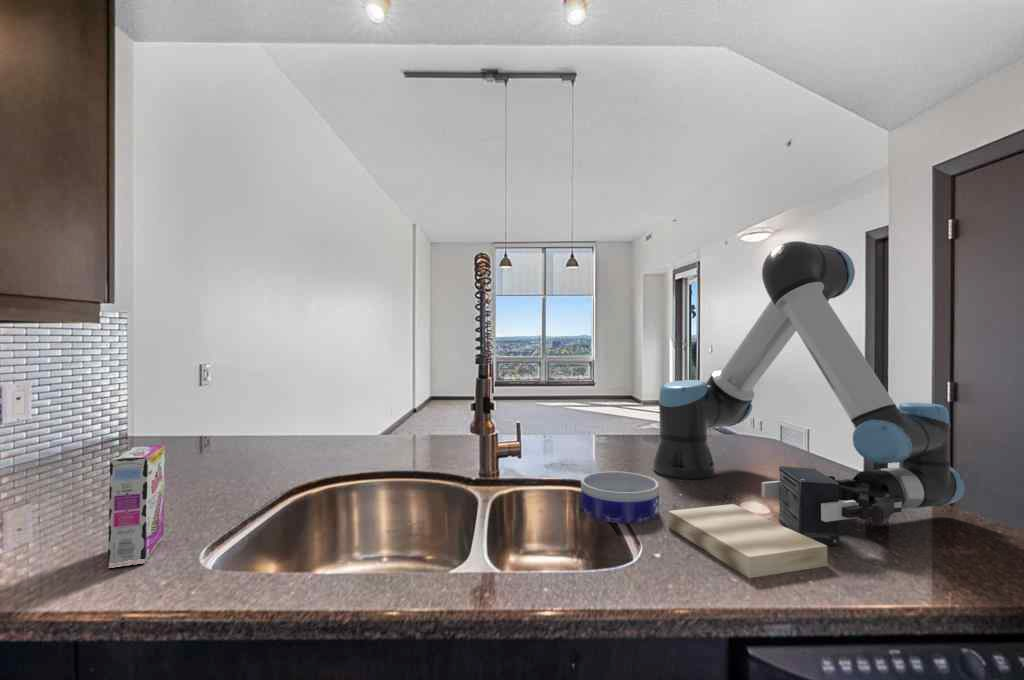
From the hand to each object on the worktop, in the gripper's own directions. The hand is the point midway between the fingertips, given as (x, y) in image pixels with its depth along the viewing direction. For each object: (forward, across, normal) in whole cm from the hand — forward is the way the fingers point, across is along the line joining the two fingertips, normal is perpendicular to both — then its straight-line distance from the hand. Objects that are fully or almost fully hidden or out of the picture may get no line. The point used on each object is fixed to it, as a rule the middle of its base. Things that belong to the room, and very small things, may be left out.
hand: (790, 500), depth 85 cm
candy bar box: (+106, +23, -6) cm, 109 cm away
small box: (-4, 0, -6) cm, 7 cm away
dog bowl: (+22, +20, -6) cm, 31 cm away
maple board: (+11, -1, -6) cm, 13 cm away
